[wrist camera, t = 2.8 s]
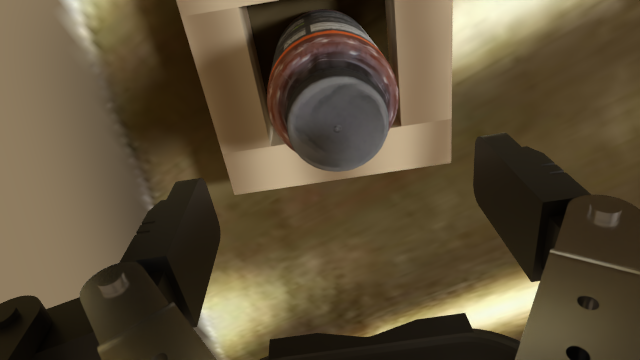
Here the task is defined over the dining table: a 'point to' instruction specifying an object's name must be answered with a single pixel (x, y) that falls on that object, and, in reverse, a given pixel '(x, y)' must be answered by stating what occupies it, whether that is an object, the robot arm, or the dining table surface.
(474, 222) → the dining table surface
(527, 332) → the robot arm
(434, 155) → the pocket block
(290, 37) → the supplement bottle
